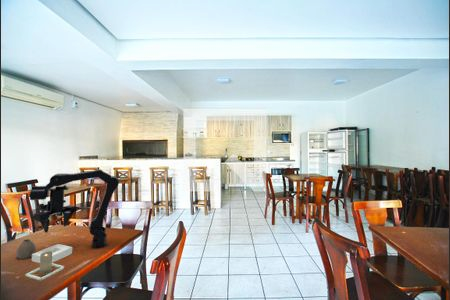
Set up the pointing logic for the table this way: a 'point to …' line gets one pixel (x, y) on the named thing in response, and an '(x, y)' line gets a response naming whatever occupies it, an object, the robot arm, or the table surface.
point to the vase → (26, 249)
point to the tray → (45, 275)
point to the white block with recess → (53, 252)
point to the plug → (45, 262)
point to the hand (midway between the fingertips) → (55, 229)
